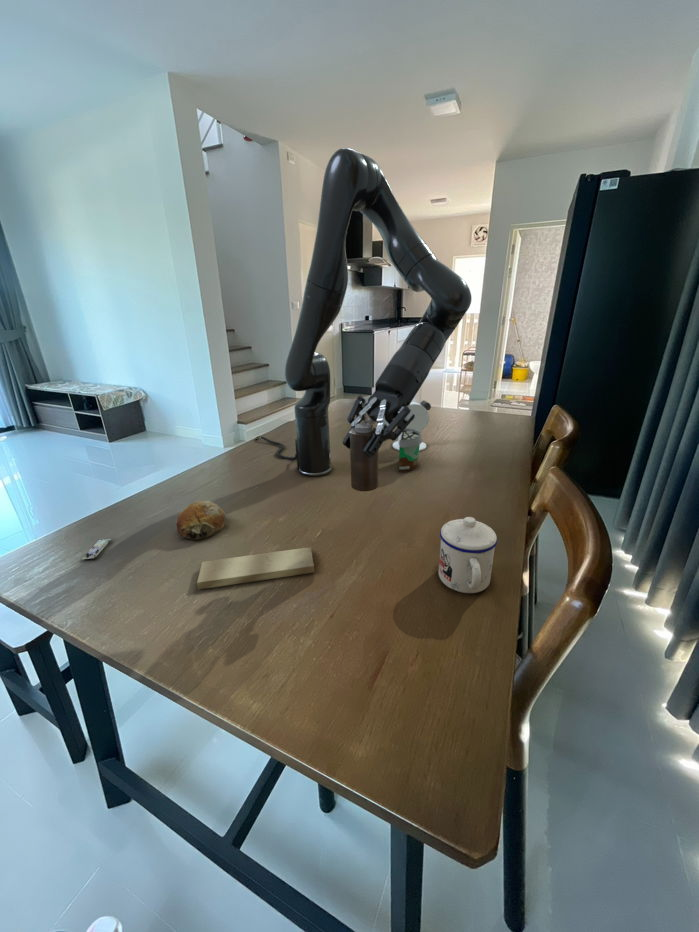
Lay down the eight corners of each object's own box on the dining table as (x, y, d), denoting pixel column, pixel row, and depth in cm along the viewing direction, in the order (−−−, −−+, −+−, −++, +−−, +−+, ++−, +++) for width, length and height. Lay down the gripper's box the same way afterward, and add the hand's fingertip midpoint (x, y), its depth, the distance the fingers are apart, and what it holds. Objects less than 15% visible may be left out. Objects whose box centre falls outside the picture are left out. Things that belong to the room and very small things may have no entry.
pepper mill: (345, 486, 73) (343, 426, 69) (362, 477, 77) (361, 419, 72) (366, 494, 70) (365, 431, 65) (383, 484, 74) (384, 424, 69)
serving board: (198, 589, 65) (196, 582, 65) (203, 568, 71) (202, 561, 70) (314, 572, 69) (313, 565, 68) (311, 553, 74) (310, 546, 74)
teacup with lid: (433, 560, 71) (437, 505, 66) (483, 561, 70) (490, 506, 66) (444, 607, 60) (449, 545, 55) (503, 609, 59) (513, 546, 55)
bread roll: (232, 538, 87) (237, 503, 87) (202, 544, 77) (207, 504, 77) (197, 531, 90) (201, 497, 90) (163, 536, 80) (168, 498, 80)
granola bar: (100, 541, 80) (99, 537, 80) (112, 541, 80) (110, 536, 80) (82, 561, 74) (80, 556, 74) (94, 560, 74) (93, 556, 74)
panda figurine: (421, 439, 136) (423, 397, 130) (433, 449, 126) (435, 405, 120) (388, 442, 134) (389, 399, 128) (398, 452, 124) (399, 407, 118)
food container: (420, 474, 107) (422, 441, 103) (398, 473, 108) (399, 440, 105) (421, 459, 118) (423, 428, 115) (401, 458, 120) (402, 427, 116)
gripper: (368, 359, 74) (321, 431, 72) (424, 366, 64) (371, 450, 62) (387, 382, 79) (344, 450, 77) (443, 393, 69) (394, 471, 67)
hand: (356, 450), depth 69 cm, fingers closed on pepper mill, 5 cm apart
